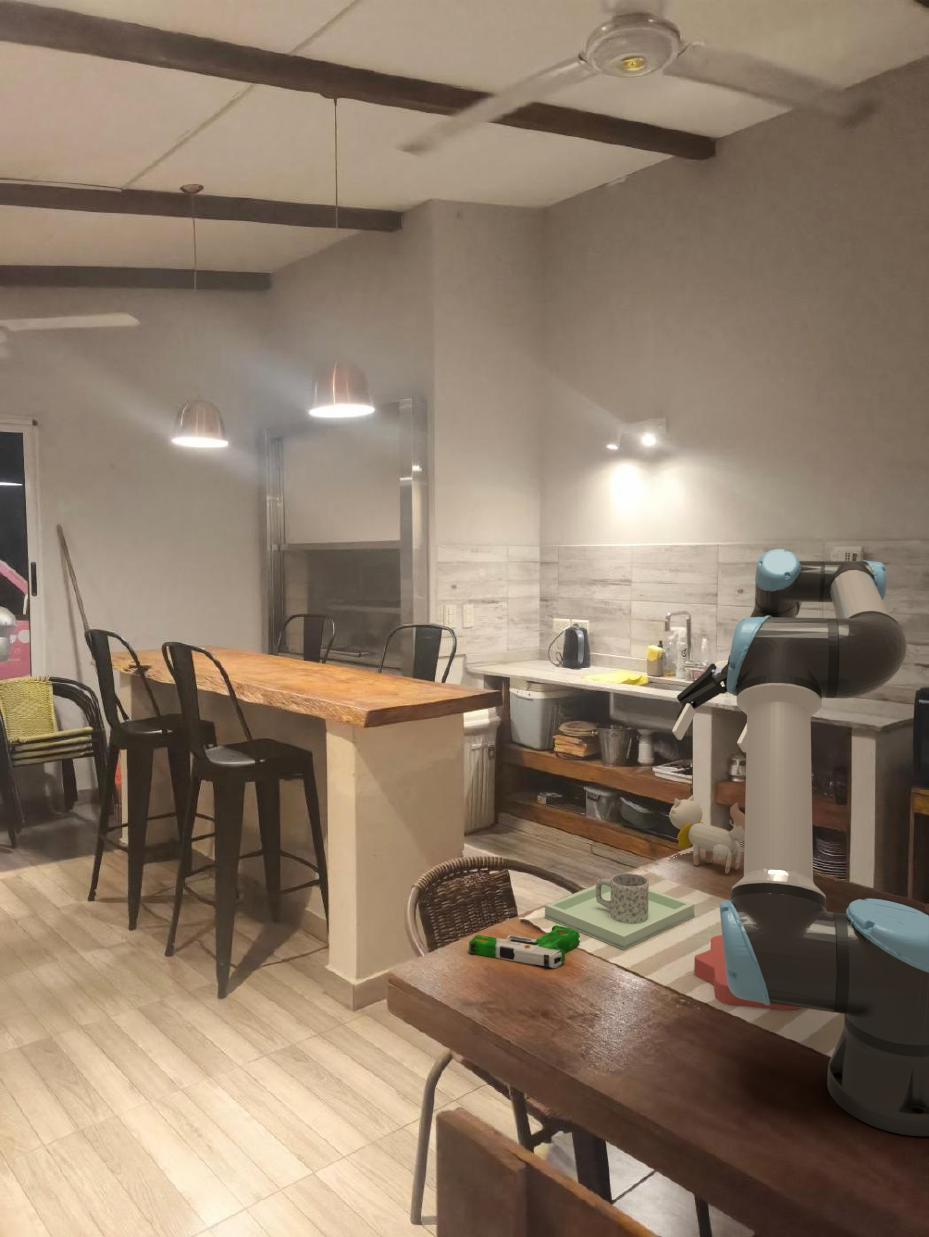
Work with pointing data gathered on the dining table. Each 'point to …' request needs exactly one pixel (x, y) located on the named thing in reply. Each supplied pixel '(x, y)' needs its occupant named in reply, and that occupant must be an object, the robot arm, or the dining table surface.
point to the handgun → (529, 947)
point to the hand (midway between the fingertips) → (708, 741)
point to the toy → (707, 833)
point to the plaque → (723, 976)
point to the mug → (626, 897)
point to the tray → (599, 924)
